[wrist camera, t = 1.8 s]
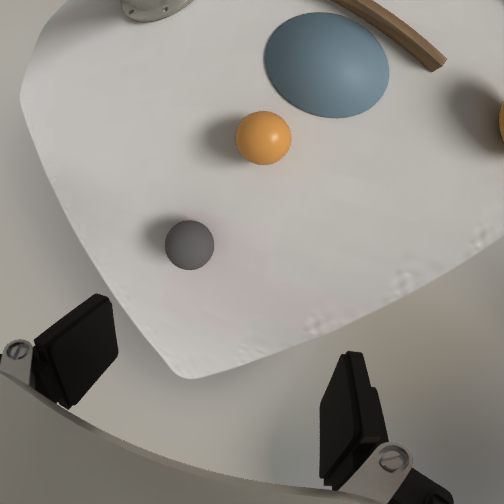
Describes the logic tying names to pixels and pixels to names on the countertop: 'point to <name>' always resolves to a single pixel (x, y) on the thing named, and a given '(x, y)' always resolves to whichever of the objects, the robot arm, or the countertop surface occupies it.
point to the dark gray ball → (189, 245)
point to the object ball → (263, 138)
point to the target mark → (327, 65)
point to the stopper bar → (396, 31)
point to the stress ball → (501, 120)
